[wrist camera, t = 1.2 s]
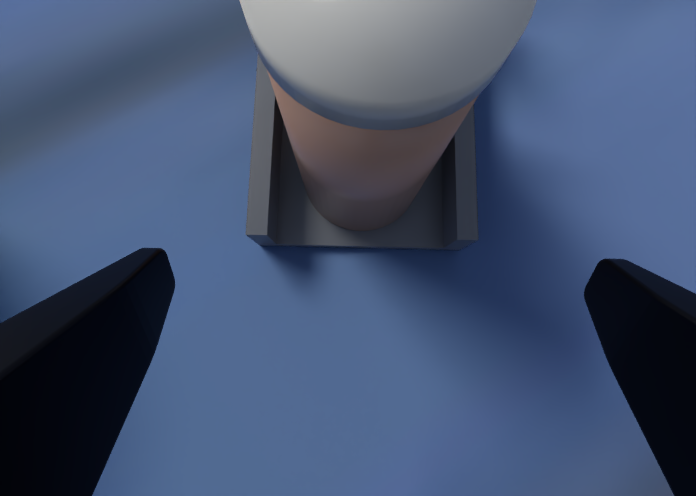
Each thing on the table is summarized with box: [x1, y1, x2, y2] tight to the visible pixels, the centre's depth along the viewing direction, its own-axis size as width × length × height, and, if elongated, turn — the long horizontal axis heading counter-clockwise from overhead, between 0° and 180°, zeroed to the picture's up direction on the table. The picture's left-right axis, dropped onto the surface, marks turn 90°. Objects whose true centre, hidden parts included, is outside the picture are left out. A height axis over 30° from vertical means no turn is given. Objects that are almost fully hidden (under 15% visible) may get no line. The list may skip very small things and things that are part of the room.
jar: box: [240, 0, 537, 231], centre depth 15 cm, size 7×7×13 cm
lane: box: [246, 54, 478, 250], centre depth 19 cm, size 15×11×6 cm
